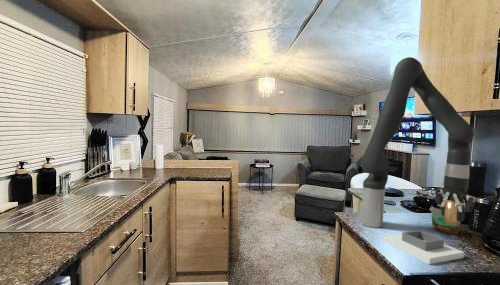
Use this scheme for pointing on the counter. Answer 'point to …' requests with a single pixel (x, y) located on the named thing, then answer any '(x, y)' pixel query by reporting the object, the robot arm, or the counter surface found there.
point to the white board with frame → (424, 246)
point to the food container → (442, 223)
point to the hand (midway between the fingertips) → (452, 218)
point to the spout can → (451, 213)
